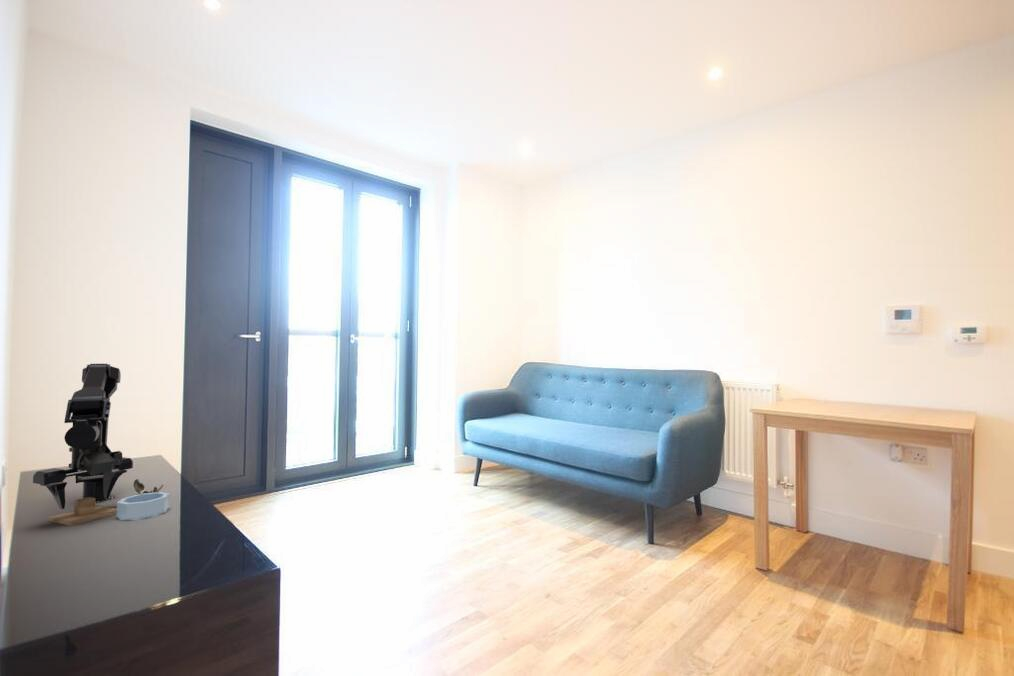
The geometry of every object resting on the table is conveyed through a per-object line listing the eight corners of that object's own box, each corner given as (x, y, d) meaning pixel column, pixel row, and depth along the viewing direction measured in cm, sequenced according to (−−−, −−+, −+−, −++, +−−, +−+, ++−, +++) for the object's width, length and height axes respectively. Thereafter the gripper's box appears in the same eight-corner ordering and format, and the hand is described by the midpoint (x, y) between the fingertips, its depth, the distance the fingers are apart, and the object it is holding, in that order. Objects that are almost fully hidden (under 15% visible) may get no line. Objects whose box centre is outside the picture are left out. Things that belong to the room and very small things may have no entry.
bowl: (109, 519, 117) (110, 501, 117) (152, 507, 126) (152, 490, 127) (133, 523, 113) (133, 505, 114) (175, 511, 123) (176, 494, 123)
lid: (48, 520, 115) (49, 502, 116) (96, 508, 125) (97, 492, 125) (70, 525, 112) (71, 507, 112) (118, 513, 121) (119, 495, 121)
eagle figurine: (167, 494, 136) (136, 489, 136) (161, 477, 132) (130, 472, 132) (147, 515, 129) (115, 510, 129) (141, 498, 126) (108, 492, 125)
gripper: (57, 451, 107) (55, 518, 107) (146, 438, 125) (144, 496, 124) (32, 448, 112) (30, 513, 111) (121, 436, 129) (120, 492, 128)
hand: (85, 503), depth 118 cm, fingers open, 9 cm apart
